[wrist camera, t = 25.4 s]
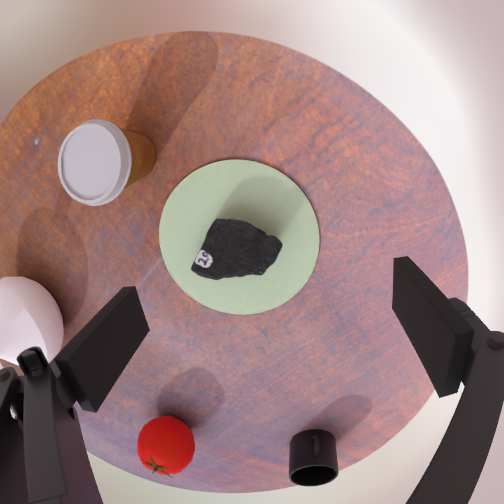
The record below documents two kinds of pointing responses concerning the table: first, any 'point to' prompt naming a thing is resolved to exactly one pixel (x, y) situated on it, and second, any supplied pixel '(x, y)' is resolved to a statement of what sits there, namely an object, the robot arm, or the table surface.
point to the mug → (313, 458)
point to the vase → (28, 319)
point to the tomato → (166, 445)
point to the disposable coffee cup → (103, 161)
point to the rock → (235, 250)
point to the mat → (246, 209)
